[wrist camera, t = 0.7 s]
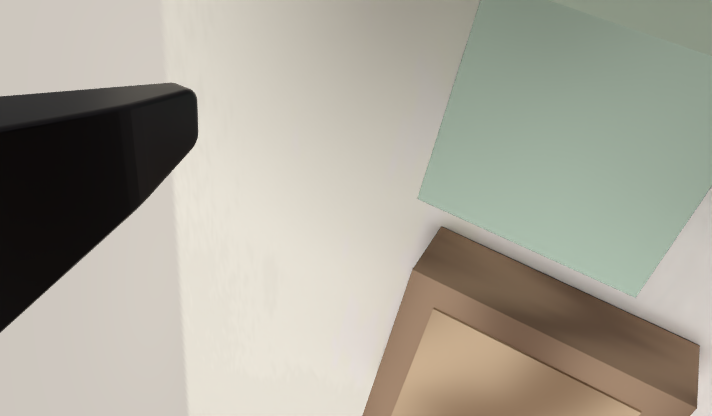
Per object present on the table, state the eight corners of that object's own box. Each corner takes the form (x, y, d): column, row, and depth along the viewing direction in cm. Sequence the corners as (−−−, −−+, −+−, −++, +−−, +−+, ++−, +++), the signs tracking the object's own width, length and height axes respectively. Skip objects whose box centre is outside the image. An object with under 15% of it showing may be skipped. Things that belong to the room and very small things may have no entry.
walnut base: (699, 345, 22) (696, 410, 19) (582, 485, 28) (570, 547, 25) (441, 226, 24) (411, 270, 22) (386, 379, 30) (358, 426, 28)
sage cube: (766, 4, 16) (783, 80, 12) (655, 186, 20) (635, 297, 15) (547, -65, 18) (487, -22, 13) (481, 116, 21) (417, 198, 17)
